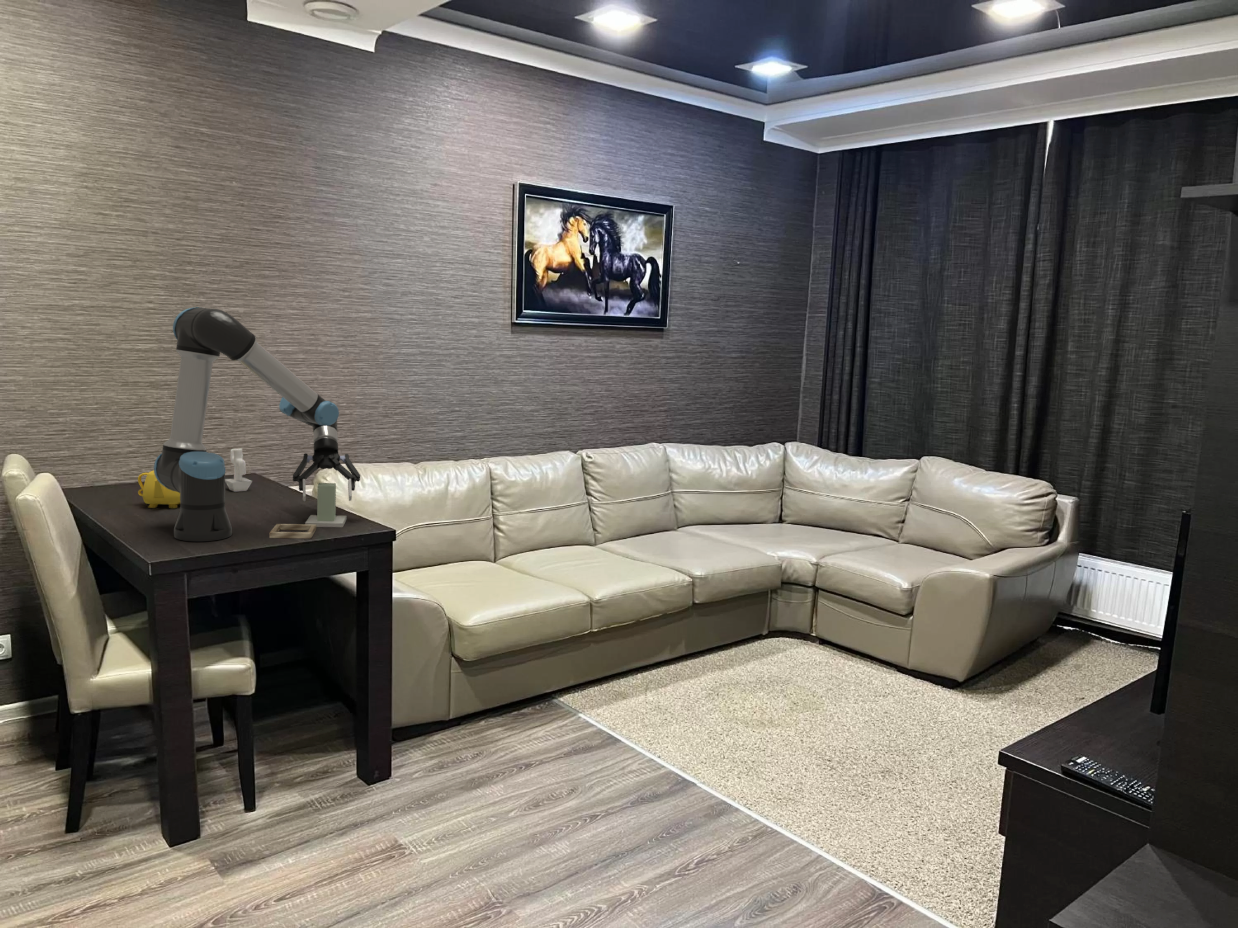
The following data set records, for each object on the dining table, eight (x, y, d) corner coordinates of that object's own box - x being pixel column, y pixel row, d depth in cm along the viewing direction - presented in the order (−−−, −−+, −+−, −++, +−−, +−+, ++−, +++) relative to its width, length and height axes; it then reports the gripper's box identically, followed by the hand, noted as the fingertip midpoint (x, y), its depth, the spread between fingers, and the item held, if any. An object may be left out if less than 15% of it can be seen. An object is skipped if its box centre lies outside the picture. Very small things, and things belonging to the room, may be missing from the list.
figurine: (233, 493, 319) (232, 451, 317) (222, 488, 326) (222, 447, 324) (253, 491, 324) (253, 450, 322) (243, 487, 331) (243, 446, 329)
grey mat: (305, 526, 278) (305, 522, 277) (310, 518, 288) (310, 515, 288) (342, 527, 280) (342, 523, 280) (346, 519, 290) (346, 515, 290)
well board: (269, 537, 262) (269, 532, 262) (276, 528, 273) (276, 523, 273) (310, 538, 264) (310, 533, 264) (316, 529, 275) (316, 524, 275)
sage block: (317, 520, 281) (317, 485, 279) (318, 517, 286) (319, 482, 284) (334, 521, 282) (334, 486, 280) (335, 517, 287) (335, 483, 285)
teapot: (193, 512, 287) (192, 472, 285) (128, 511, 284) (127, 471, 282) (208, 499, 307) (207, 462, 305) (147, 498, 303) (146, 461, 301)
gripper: (364, 450, 300) (368, 504, 289) (284, 450, 292) (284, 505, 280) (366, 437, 295) (370, 491, 283) (284, 436, 286) (284, 492, 274)
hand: (327, 498), depth 282 cm, fingers open, 13 cm apart
